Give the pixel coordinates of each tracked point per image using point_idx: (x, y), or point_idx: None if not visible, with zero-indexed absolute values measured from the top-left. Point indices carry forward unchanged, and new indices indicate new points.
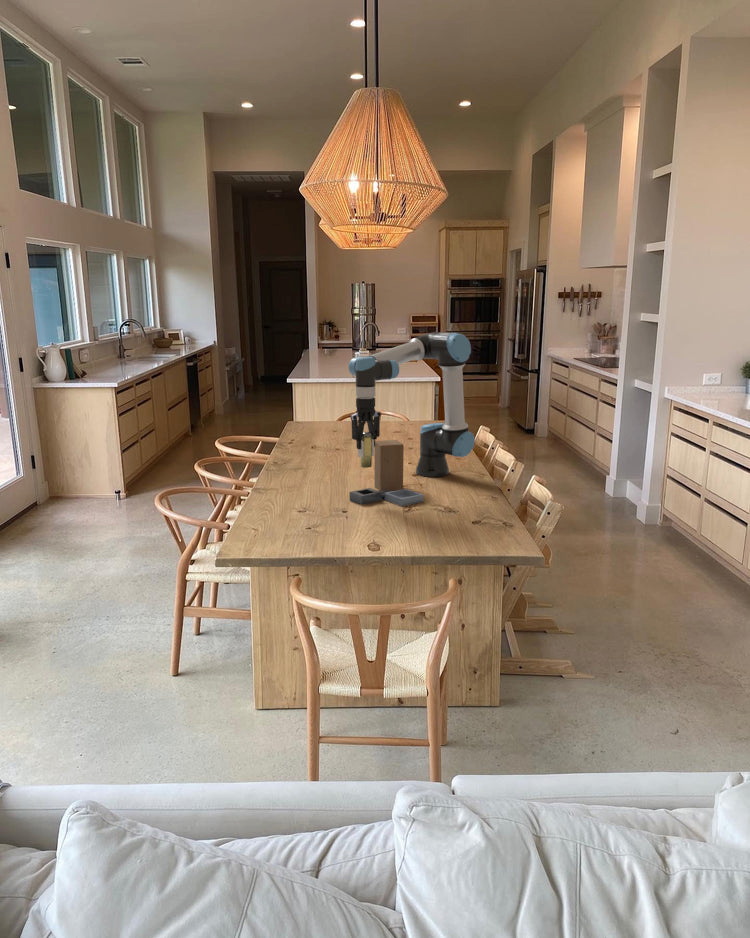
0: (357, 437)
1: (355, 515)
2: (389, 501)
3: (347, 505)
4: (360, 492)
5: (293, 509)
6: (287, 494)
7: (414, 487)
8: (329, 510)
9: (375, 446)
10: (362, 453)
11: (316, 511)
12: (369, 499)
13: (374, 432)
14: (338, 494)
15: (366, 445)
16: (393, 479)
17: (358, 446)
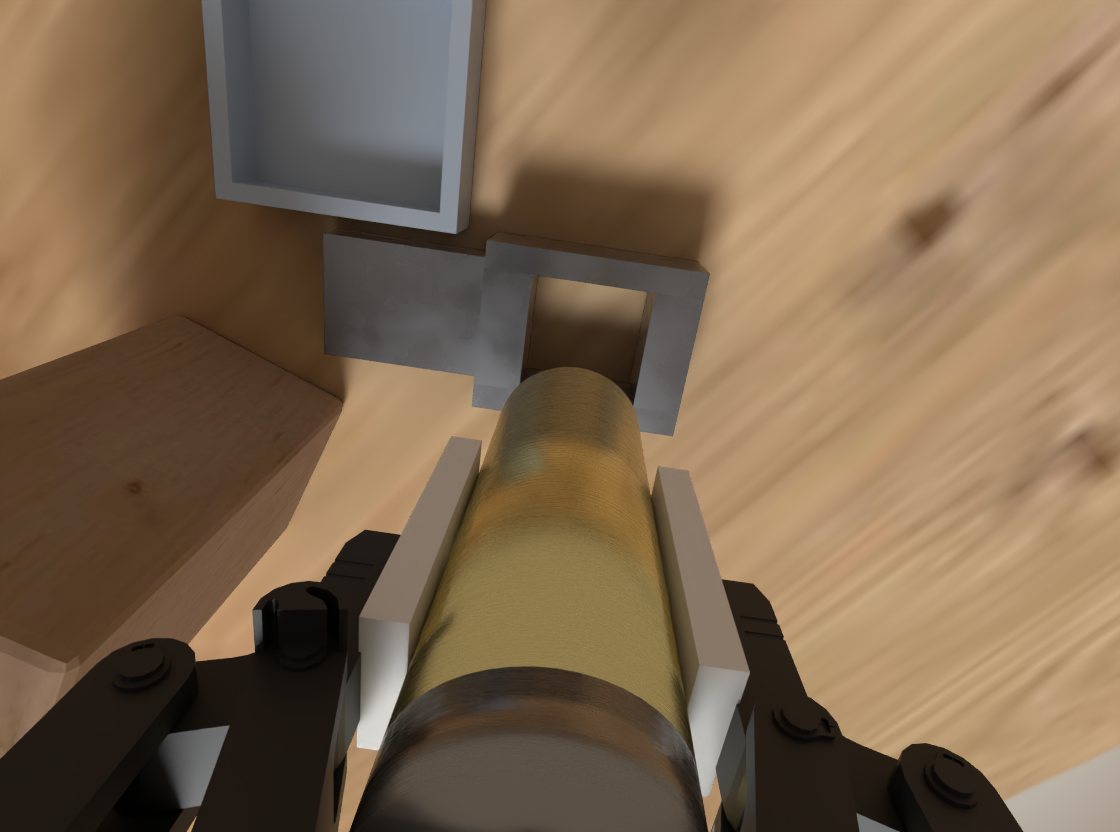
0: (946, 815)
1: (968, 74)
2: (473, 158)
3: (773, 332)
4: None
5: (1082, 521)
6: None
7: (49, 314)
8: (964, 334)
9: None
10: (691, 503)
11: (1040, 382)
12: (621, 253)
13: (231, 793)
14: None
15: (631, 555)
16: (199, 381)
17: (778, 629)
